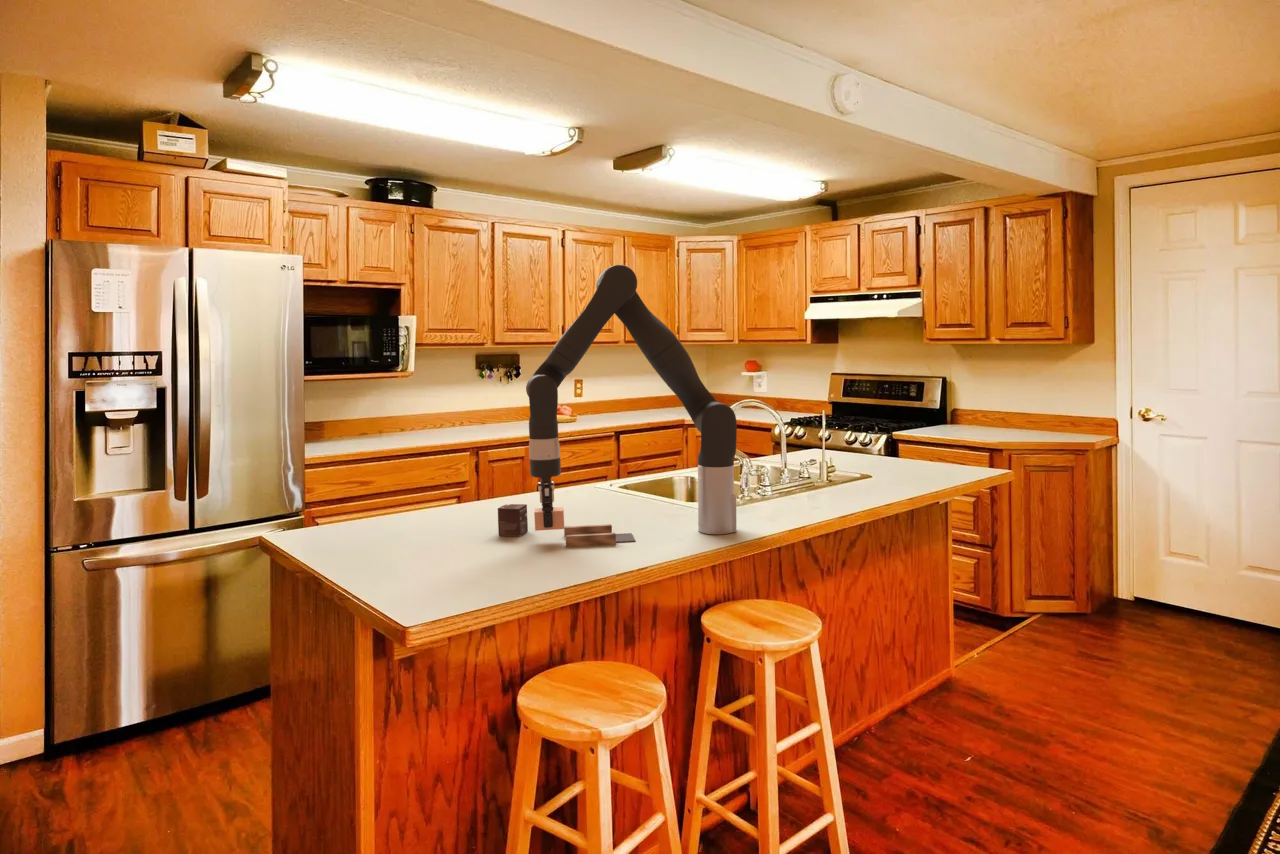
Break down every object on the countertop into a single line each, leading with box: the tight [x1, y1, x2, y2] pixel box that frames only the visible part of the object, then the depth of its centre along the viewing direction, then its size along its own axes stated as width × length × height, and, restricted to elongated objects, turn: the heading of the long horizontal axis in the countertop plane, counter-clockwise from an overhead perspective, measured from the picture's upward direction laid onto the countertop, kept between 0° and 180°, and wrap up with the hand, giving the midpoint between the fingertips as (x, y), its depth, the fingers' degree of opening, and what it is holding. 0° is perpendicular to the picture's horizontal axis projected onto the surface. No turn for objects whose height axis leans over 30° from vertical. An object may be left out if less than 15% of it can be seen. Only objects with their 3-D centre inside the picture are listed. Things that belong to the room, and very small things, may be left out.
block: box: [533, 506, 565, 531], centre depth 186 cm, size 7×5×4 cm
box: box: [497, 503, 529, 537], centre depth 196 cm, size 6×6×7 cm
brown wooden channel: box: [563, 523, 617, 548], centre depth 188 cm, size 12×11×2 cm
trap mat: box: [615, 532, 636, 544], centre depth 189 cm, size 5×8×1 cm, turn 8°
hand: (548, 524), depth 186 cm, fingers closed on block, 5 cm apart
